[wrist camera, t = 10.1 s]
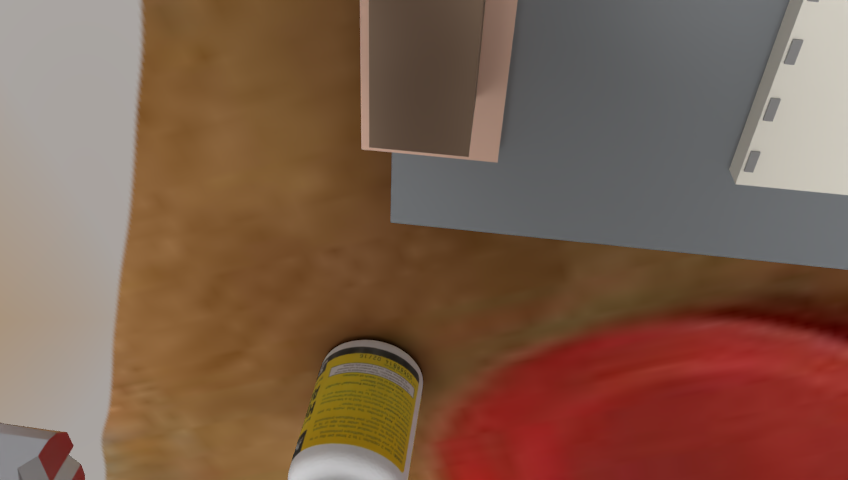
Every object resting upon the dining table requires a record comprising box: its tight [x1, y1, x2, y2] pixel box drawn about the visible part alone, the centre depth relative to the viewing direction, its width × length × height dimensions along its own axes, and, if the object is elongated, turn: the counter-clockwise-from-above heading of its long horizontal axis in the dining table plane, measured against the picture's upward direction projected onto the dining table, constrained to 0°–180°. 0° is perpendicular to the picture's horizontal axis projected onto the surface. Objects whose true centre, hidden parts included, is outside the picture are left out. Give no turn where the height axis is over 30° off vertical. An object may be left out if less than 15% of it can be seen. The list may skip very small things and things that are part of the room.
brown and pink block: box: [360, 0, 518, 163], centre depth 22 cm, size 5×10×5 cm, turn 178°
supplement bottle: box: [288, 340, 423, 480], centre depth 34 cm, size 5×5×10 cm
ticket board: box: [391, 0, 848, 270], centre depth 23 cm, size 22×18×3 cm
